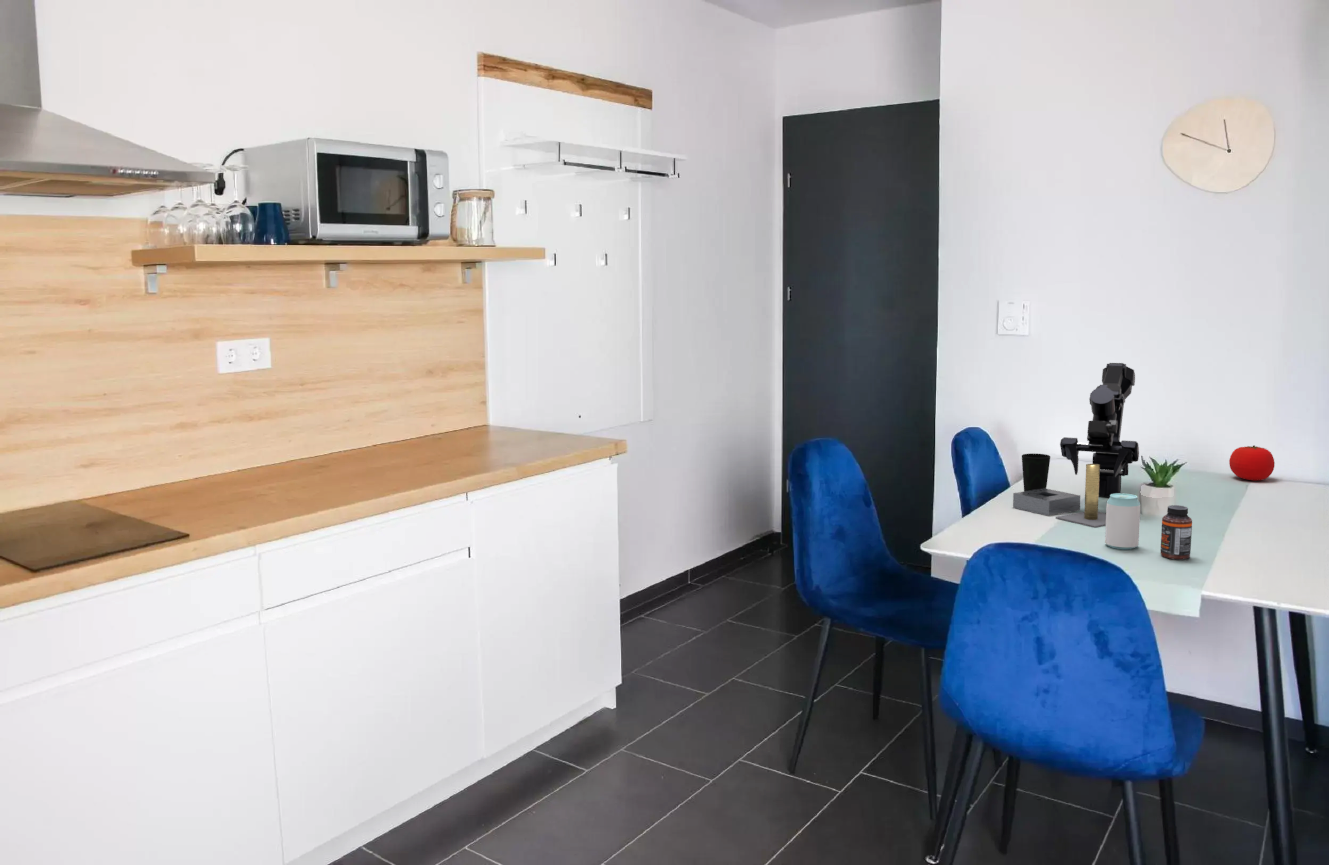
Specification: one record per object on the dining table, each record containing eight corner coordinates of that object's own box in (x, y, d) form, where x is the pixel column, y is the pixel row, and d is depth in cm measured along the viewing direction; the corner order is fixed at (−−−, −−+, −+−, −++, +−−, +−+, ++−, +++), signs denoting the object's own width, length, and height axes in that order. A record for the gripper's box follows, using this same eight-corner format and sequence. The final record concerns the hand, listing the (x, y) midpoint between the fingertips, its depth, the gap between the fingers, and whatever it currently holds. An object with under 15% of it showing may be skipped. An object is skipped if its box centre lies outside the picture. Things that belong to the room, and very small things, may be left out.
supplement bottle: (1154, 553, 223) (1156, 504, 222) (1179, 552, 224) (1182, 503, 222) (1170, 560, 217) (1172, 510, 216) (1196, 559, 218) (1198, 509, 216)
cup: (1051, 500, 280) (1052, 458, 278) (1022, 499, 282) (1023, 457, 280) (1046, 494, 287) (1047, 453, 286) (1018, 494, 289) (1019, 453, 287)
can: (1141, 550, 226) (1144, 499, 224) (1108, 549, 227) (1111, 498, 226) (1134, 543, 233) (1136, 492, 231) (1101, 542, 234) (1103, 492, 233)
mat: (1091, 511, 265) (1091, 510, 265) (1131, 520, 254) (1132, 518, 254) (1055, 518, 258) (1055, 516, 258) (1095, 527, 248) (1095, 526, 248)
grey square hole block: (1043, 502, 278) (1044, 488, 277) (1079, 510, 267) (1080, 495, 266) (1013, 507, 272) (1013, 493, 271) (1048, 515, 261) (1049, 500, 261)
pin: (1089, 516, 258) (1091, 463, 256) (1100, 518, 255) (1102, 465, 253) (1081, 518, 257) (1083, 464, 254) (1092, 520, 254) (1094, 466, 252)
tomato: (1282, 483, 296) (1284, 448, 294) (1242, 483, 296) (1244, 449, 294) (1258, 475, 307) (1260, 442, 306) (1220, 476, 308) (1222, 442, 306)
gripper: (1062, 407, 265) (1053, 454, 257) (1139, 410, 255) (1132, 459, 247) (1066, 432, 272) (1057, 479, 265) (1141, 436, 263) (1135, 484, 255)
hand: (1094, 475), depth 258 cm, fingers open, 9 cm apart
